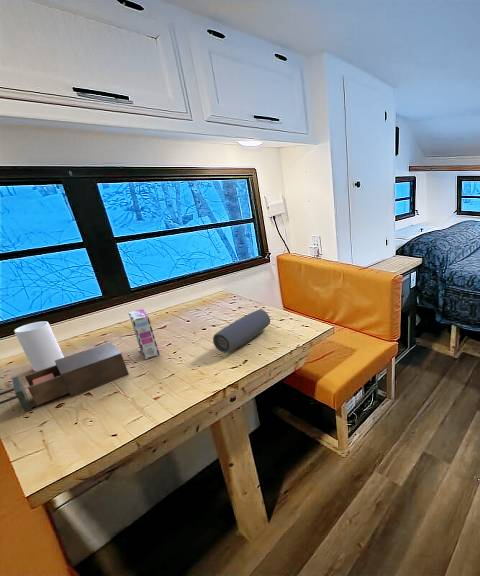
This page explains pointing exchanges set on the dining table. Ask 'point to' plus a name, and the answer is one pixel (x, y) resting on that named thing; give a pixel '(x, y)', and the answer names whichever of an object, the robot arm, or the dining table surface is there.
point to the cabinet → (91, 368)
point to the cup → (39, 344)
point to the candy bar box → (144, 333)
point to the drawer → (38, 388)
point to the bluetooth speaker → (241, 331)
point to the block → (43, 378)
